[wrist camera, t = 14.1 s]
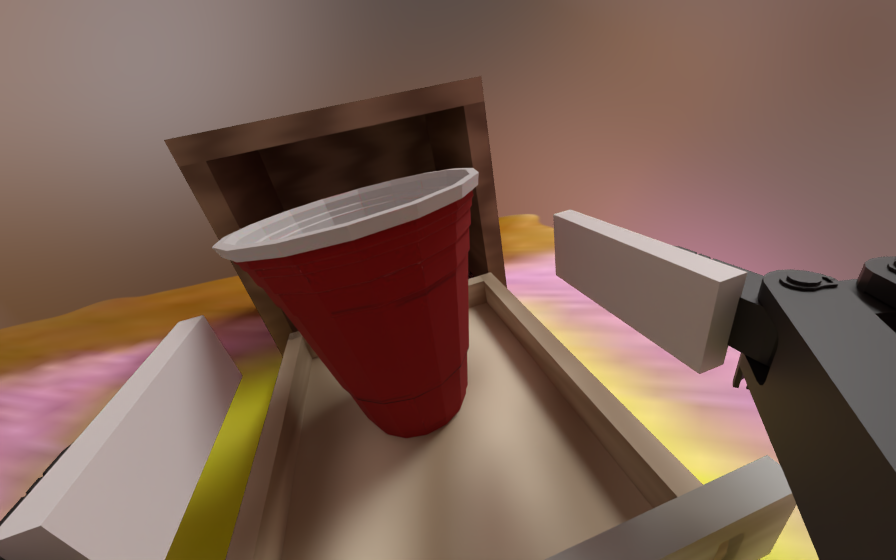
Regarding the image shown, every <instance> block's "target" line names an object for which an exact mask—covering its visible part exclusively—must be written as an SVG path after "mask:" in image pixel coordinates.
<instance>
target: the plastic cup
mask: <svg viewBox="0 0 896 560" xmlns="http://www.w3.org/2000/svg"><path fill="white" fill-rule="evenodd" d="M478 177H479V172H478V171H476V170H475V169H474V168H454V169H447V170H441V171H434V172H428V173H423V174H418V175H413V176H409V177H404V178H400V179H395V180H391V181H387V182H383V183H379V184H375V185H371V186H367V187H363V188H359V189H356V190H352V191H349V192H345V193H342V194H339V195H335V196H332V197H328V198H325V199H321V200H318V201H315V202H312V203H309V204H306V205H303V206H300V207H297V208H294V209H291V210H288V211H285V212H282V213H279V214H277V215H274V216H272V217H269V218H266V219H264V220H261V221H258V222H256V223H253V224H250V225H248V226H246V227H244V228H242V229H240V230H238V231H235V232H233V233H231V234H229V235H227V236H225V237H223V238H222V239H221V240H220V241H218V242H217V243H216V244H215V245H214V246H213V247H212V248H213V249H214V250H215V251H216V252H217V253H218V254H219V255H220V256H221V257H223V258H226V259H229V260H232V261H233V262H234V264H237V265H239V266H240V268H241V269H242V270H243V271H245V272H247V273H248V274H249V275H250V277H251V278H252V279H253V281H254V282H255V283H256V284H257V286H259V287H261V288H263V289H264V291H265V292H266V293H267V295H268V296H269V297H270V298H271V300H272V301H273V302H274V304H275V305H276V306H277V307H279V308H281V309H282V310H283V311H284V313H285V314H286V315H287V317H288V318H289V319H290V321H291V322H292V323H293V324H294V326H295V327H296V328H297V330H298V331H299V332H300V333H301V335H302V336H303V337H304V339H305V340H306V341H307V343H308V344H309V345H310V346H311V348H312V349H313V350H314V352H315V353H316V354H317V355H318V357H319V358H320V359H321V361H322V362H323V363H324V365H325V366H326V367H327V368H328V370H329V371H330V372H331V374H332V375H333V376H334V377H335V379H336V380H337V381H338V383H339V384H340V385H341V387H342V388H343V389H345V390H346V391H347V392H348V393H350V395H351V396H352V398H353V399H354V400H355V402H356V403H357V404H358V406H359V407H360V408H361V410H362V411H363V412H364V414H365V415H366V416H367V418H368V419H369V420H371V421H372V422H373V423H374V424H375V425H377V426H378V427H379V428H380V429H381V430H383V431H384V432H385V433H386V434H387V435H392V436H397V437H402V438H411V437H417V436H423V435H428V434H430V433H431V432H433V431H435V430H437V429H439V428H441V427H442V426H444V425H446V424H447V423H448V422H449V421H450V420H451V419H452V418H453V417H454V416H455V415H456V413H457V412H458V411H459V410H460V409H461V406H462V403H463V400H464V398H465V395H466V388H467V386H468V368H467V351H468V349H469V294H468V251H469V250H470V239H469V226H470V225H471V213H470V207H471V206H472V197H473V196H474V195H473V190H472V189H474V188H475V187H476V186H477V185H478Z"/></svg>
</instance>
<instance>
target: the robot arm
mask: <svg viewBox="0 0 896 560" xmlns="http://www.w3.org/2000/svg"><path fill="white" fill-rule="evenodd" d="M554 240H555V264H556V275H557V276H558V277H560V278H561V279H563V280H564V281H566V282H567V283H568V284H570V285H571V286H573V287H574V288H576V289H577V290H579V291H580V292H581V293H583V294H584V295H586V296H587V297H589V298H590V299H592V300H593V301H594V302H596V303H597V304H599V305H600V306H602V307H603V308H605V309H606V310H608V311H609V312H610V313H612V314H613V315H615V316H616V317H618V318H619V319H621V320H622V321H623V322H625V323H626V324H628V325H629V326H631V327H632V328H634V329H635V330H636V331H638V332H639V333H641V334H642V335H644V336H645V337H647V338H648V339H650V340H651V341H652V342H654V343H655V344H657V345H658V346H660V347H661V348H663V349H664V350H665V351H667V352H668V353H670V354H671V355H673V356H674V357H676V358H677V359H678V360H680V361H681V362H683V363H684V364H686V365H687V366H689V367H690V368H692V369H693V370H694V371H696V372H697V373H699V374H701V373H703V372H706V371H708V370H710V369H713V368H715V367H718V366H720V365H723V363H724V360H725V356H726V352H727V348H728V345H729V346H731V347H732V348H734V349H736V350H738V351H740V352H741V355H740V358H739V361H738V365H737V368H736V372H735V375H734V379H733V387H735V388H739V384H740V381H741V380H742V379H744V378H745V380H746V383H747V387H746V389H749V390H750V392H751V395H752V397H753V400H754V402H755V405H756V407H757V409H758V412H759V414H760V417H761V419H762V422H763V424H764V426H765V429H766V431H767V434H768V436H769V439H770V441H771V443H772V446H773V448H774V451H775V453H776V456H777V458H778V460H779V463H780V465H781V468H782V470H783V472H784V475H785V477H786V480H787V482H788V485H789V487H790V489H791V492H792V494H793V497H794V499H795V502H796V504H797V506H798V509H799V511H800V514H801V516H802V519H803V521H804V523H805V526H806V528H807V531H808V533H809V536H810V538H811V540H812V543H813V545H814V548H815V550H816V552H817V555H818V557H819V560H896V257H878V258H872V259H870V260H868V261H866V262H865V264H864V266H863V268H862V271H861V273H860V275H859V277H858V279H853V280H844V281H838V280H836V279H834V278H832V277H830V276H826V275H823V274H819V273H814V272H809V271H802V270H776V271H773V272H769V273H767V274H766V275H765V276H762V275H760V274H757V273H754V272H751V271H748V270H745V269H742V268H740V267H737V266H734V265H731V264H728V263H725V262H722V261H720V260H717V259H711V258H710V257H708V256H705V255H702V254H697V253H696V252H694V251H691V250H688V249H685V248H682V247H678V246H672V245H669V244H666V243H664V242H661V241H658V240H655V239H652V238H649V237H647V236H644V235H641V234H638V233H635V232H633V231H630V230H627V229H624V228H621V227H618V226H615V225H613V224H610V223H607V222H604V221H601V220H599V219H596V218H593V217H590V216H587V215H584V214H582V213H579V212H576V211H573V210H567V211H563V212H560V213H557V214H554ZM241 378H242V374H241V373H240V371H239V369H238V368H237V366H236V365H235V363H234V362H233V360H232V359H231V357H230V356H229V354H228V352H227V351H226V349H225V348H224V346H223V345H222V343H221V342H220V340H219V339H218V337H217V336H216V334H215V332H214V331H213V329H212V328H211V326H210V325H209V323H208V322H207V320H206V319H205V317H204V315H202V316H199V317H195V318H192V319H188V320H185V321H181V322H178V324H177V325H176V326H175V327H174V328H173V329H172V330H171V332H170V333H169V334H168V335H167V336H166V337H165V338H164V340H163V341H162V342H161V343H160V344H159V345H158V346H157V348H156V349H155V350H154V351H153V352H152V353H151V354H150V356H149V357H148V358H147V359H146V360H145V361H144V362H143V364H142V365H141V366H140V367H139V368H138V369H137V370H136V372H135V373H134V374H133V375H132V376H131V377H130V378H129V380H128V381H127V382H126V383H125V384H124V385H123V386H122V388H121V389H120V390H119V391H118V392H117V393H116V394H115V396H114V397H113V398H112V399H111V400H110V401H109V402H108V404H107V405H106V406H105V407H104V408H103V409H102V411H101V412H100V413H99V414H98V415H97V416H96V417H95V419H94V420H93V421H92V422H91V423H90V424H89V425H88V427H87V428H86V429H85V430H84V431H83V432H82V433H81V435H80V436H79V437H78V438H77V439H76V440H75V441H74V442H73V443H72V444H71V445H69V446H68V447H67V448H66V449H65V450H63V451H62V452H61V453H60V454H59V456H58V457H57V458H56V459H55V460H54V461H53V462H52V464H51V465H50V466H49V467H48V468H47V469H46V470H45V471H44V473H43V477H41V478H38V479H37V480H36V482H35V483H34V484H33V485H32V486H31V487H30V488H29V490H28V491H27V492H26V496H25V497H22V498H21V499H20V500H19V501H18V502H17V503H16V504H15V505H14V506H13V508H12V509H11V510H10V511H9V512H8V513H7V514H6V516H5V517H4V518H3V519H2V520H1V521H0V560H165V558H166V556H167V553H168V551H169V549H170V546H171V544H172V542H173V539H174V537H175V534H176V532H177V530H178V527H179V525H180V523H181V520H182V518H183V516H184V513H185V511H186V508H187V506H188V504H189V501H190V499H191V497H192V494H193V492H194V489H195V487H196V485H197V482H198V480H199V478H200V475H201V473H202V471H203V468H204V466H205V463H206V461H207V459H208V456H209V454H210V452H211V449H212V447H213V445H214V442H215V440H216V437H217V435H218V433H219V430H220V428H221V426H222V423H223V421H224V419H225V416H226V414H227V411H228V409H229V407H230V404H231V402H232V400H233V397H234V395H235V392H236V390H237V388H238V385H239V383H240V381H241Z"/></svg>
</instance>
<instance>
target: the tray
mask: <svg viewBox="0 0 896 560" xmlns="http://www.w3.org/2000/svg"><path fill="white" fill-rule="evenodd" d="M468 294H469V349H468V351H467V368H468V386H467V388H466V395H465V398H464V400H463V403H462V406H461V409H460V410H459V411H458V412H457V413H456V415H455V416H454V417H453V418H452V419H451V420H450V421H449V422H448V423H447V424H446V425H444V426H442V427H441V428H439V429H437V430H435V431H433V432H431V433H430V434H428V435H423V436H417V437H411V438H402V437H397V436H392V435H387V434H386V433H385V432H384V431H383V430H381V429H380V428H379V427H378V426H377V425H375V424H374V423H373V422H372V421H371V420H369V419H368V418H367V416H366V415H365V414H364V412H363V411H362V410H361V408H360V407H359V406H358V404H357V403H356V402H355V400H354V399H353V398H352V396H351V395H350V393H348V392H347V391H346V390H345V389H343V388H342V387H341V385H340V384H339V383H338V381H337V380H336V379H335V377H334V376H333V375H332V374H331V372H330V371H329V370H328V368H327V367H326V366H325V365H324V363H323V362H322V361H321V359H320V358H319V357H318V355H317V354H316V353H315V352H314V350H313V349H312V348H311V346H310V345H309V344H308V343H307V341H306V340H305V339H304V337H303V336H302V335H301V333H300V332H299V331H297V332H294V333H291V334H289V338H288V341H287V345H286V348H285V352H284V355H283V359H282V362H281V366H280V369H279V373H278V377H277V380H276V384H275V387H274V391H273V394H272V398H271V401H270V405H269V408H268V412H267V415H266V419H265V422H264V426H263V429H262V433H261V436H260V440H259V443H258V447H257V450H256V454H255V457H254V461H253V464H252V468H251V471H250V475H249V478H248V482H247V485H246V489H245V492H244V496H243V500H242V503H241V507H240V510H239V514H238V517H237V521H236V524H235V528H234V531H233V535H232V538H231V542H230V545H229V549H228V552H227V556H226V559H225V560H758V559H760V558H762V557H764V556H766V555H768V554H769V553H770V552H771V550H772V548H773V546H774V544H775V543H776V541H777V539H778V537H779V535H780V533H781V532H782V530H783V528H784V526H785V524H786V522H787V521H788V519H789V517H790V515H791V513H792V511H793V510H794V508H795V506H796V502H795V499H794V497H793V494H792V492H791V489H790V487H789V485H788V482H787V480H786V477H785V475H784V472H783V470H782V468H781V466H780V465H779V464H778V463H777V462H775V461H774V460H773V459H771V458H770V457H769V456H768V455H766V456H764V457H762V458H760V459H758V460H756V461H754V462H751V463H749V464H747V465H745V466H743V467H741V468H739V469H737V470H734V471H732V472H730V473H728V474H726V475H724V476H722V477H720V478H717V479H715V480H713V481H711V482H709V483H707V484H705V485H703V484H702V483H701V482H700V481H699V480H698V479H697V478H696V477H695V476H694V475H693V474H692V473H691V472H690V471H689V470H688V469H687V468H686V467H685V466H684V465H683V464H682V463H681V462H680V461H679V460H678V459H677V458H676V457H675V456H674V455H673V454H672V453H671V452H670V451H669V450H668V449H667V448H666V447H665V446H664V445H663V444H662V443H661V442H660V441H659V440H658V439H657V438H656V437H655V436H654V435H653V434H652V433H651V432H650V431H649V430H648V429H647V428H646V427H645V426H644V425H643V424H642V423H641V422H640V421H639V420H638V419H637V418H636V417H635V416H634V415H633V414H632V413H631V412H630V411H629V410H628V409H627V408H626V407H625V406H624V405H623V404H622V403H621V402H620V401H619V400H618V399H617V398H616V397H615V396H614V395H613V394H612V393H611V392H610V391H609V390H608V389H607V388H606V387H605V386H604V385H603V384H602V383H601V382H600V381H599V380H598V379H597V378H596V377H595V376H594V375H593V374H592V373H591V372H590V371H589V370H588V369H587V368H586V367H585V366H584V365H583V364H582V363H581V362H580V361H579V360H578V359H577V358H576V357H575V356H574V355H573V354H572V353H571V352H570V351H569V350H568V349H567V348H566V347H565V346H564V345H563V344H562V343H561V342H560V341H559V340H558V339H557V338H556V337H555V336H554V335H553V334H552V333H551V332H550V331H549V330H548V329H547V328H546V327H545V326H544V325H543V324H542V323H541V322H540V321H539V320H538V319H537V318H536V317H535V316H534V315H533V314H532V313H531V312H530V311H529V310H528V309H527V308H526V307H525V306H524V305H523V304H522V303H521V302H520V301H519V300H518V299H517V298H516V297H515V296H514V295H513V294H512V293H511V292H510V291H509V290H508V289H507V288H506V287H505V286H504V285H503V284H502V283H501V282H500V281H499V280H498V279H497V278H496V277H495V276H494V275H493V274H492V273H491V272H490V273H487V274H484V275H480V276H477V277H474V278H470V279H468Z"/></svg>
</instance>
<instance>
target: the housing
mask: <svg viewBox="0 0 896 560" xmlns="http://www.w3.org/2000/svg"><path fill="white" fill-rule="evenodd" d="M164 141H165V143H166V145H167V146H168V148H169V150H170V152H171V154H172V155H173V157H174V159H175V161H176V163H177V165H178V166H179V168H180V170H181V172H182V174H183V176H184V177H185V179H186V181H187V183H188V184H189V186H190V188H191V190H192V192H193V194H194V196H195V197H196V199H197V201H198V203H199V204H200V206H201V208H202V210H203V212H204V214H205V216H206V217H207V219H208V221H209V223H210V224H211V226H212V228H213V230H214V232H215V234H216V235H217V237H218V239H219V241H220V240H221V239H222V238H223V237H225V236H227V235H229V234H231V233H233V232H235V231H238V230H240V229H242V228H244V227H246V226H248V225H250V224H253V223H256V222H258V221H261V220H264V219H266V218H269V217H272V216H274V215H277V214H279V213H282V212H285V211H288V210H291V209H294V208H297V207H300V206H303V205H306V204H309V203H312V202H315V201H318V200H321V199H325V198H328V197H332V196H335V195H339V194H342V193H345V192H349V191H352V190H356V189H359V188H363V187H367V186H371V185H375V184H379V183H383V182H387V181H391V180H395V179H400V178H404V177H409V176H413V175H418V174H423V173H428V172H434V171H441V170H447V169H454V168H474V169H475V170H476V171H478V172H479V177H478V185H477V186H476V187H475V188H474V189H472V190H473V195H474V196H473V197H472V206H471V207H470V213H471V225H470V226H469V239H470V250H469V251H468V270H469V271H470V272H471V273H472V274H473V276H474V277H477V276H480V275H484V274H487V273H490V272H491V273H492V274H493V275H494V276H495V277H496V278H497V279H498V280H499V281H500V282H501V283H502V284H503V285H504V286H505V287H506V288H507V285H506V277H505V269H504V260H503V252H502V244H501V236H500V227H499V219H498V211H497V203H496V195H495V186H494V178H493V171H492V170H493V169H492V161H491V153H490V145H489V136H488V128H487V120H486V112H485V103H484V96H483V87H482V80H481V76H479V77H474V78H469V79H465V80H460V81H454V82H450V83H445V84H439V85H435V86H430V87H425V88H420V89H415V90H410V91H405V92H400V93H395V94H390V95H385V96H380V97H375V98H371V99H365V100H360V101H356V102H350V103H345V104H341V105H335V106H330V107H326V108H321V109H316V110H311V111H306V112H301V113H296V114H291V115H286V116H281V117H276V118H271V119H266V120H261V121H256V122H252V123H247V124H241V125H236V126H232V127H227V128H222V129H217V130H212V131H207V132H202V133H197V134H192V135H187V136H182V137H177V138H172V139H168V140H164ZM230 261H231V263H232V265H233V266H234V268H235V270H236V272H237V274H238V276H239V277H240V279H241V281H242V283H243V285H244V287H245V288H246V290H247V292H248V294H249V296H250V297H251V299H252V301H253V303H254V305H255V307H256V308H257V310H258V312H259V314H260V316H261V317H262V319H263V321H264V323H265V325H266V327H267V328H268V330H269V332H270V334H271V336H272V337H273V339H274V341H275V343H276V345H277V347H278V348H279V350H280V352H281V354H282V356H283V355H284V352H285V348H286V345H287V341H288V338H289V334H291V333H294V332H297V331H298V330H297V328H296V327H295V326H294V324H293V323H292V322H291V321H290V319H289V318H288V317H287V315H286V314H285V313H284V311H283V310H282V309H281V308H279V307H277V306H276V305H275V304H274V302H273V301H272V300H271V298H270V297H269V296H268V295H267V293H266V292H265V291H264V289H263V288H261V287H259V286H257V284H256V283H255V282H254V281H253V279H252V278H251V277H250V275H249V274H248V273H247V272H245V271H243V270H242V269H241V268H240V266H239V265H237V264H234V262H233V261H232V260H230Z"/></svg>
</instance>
